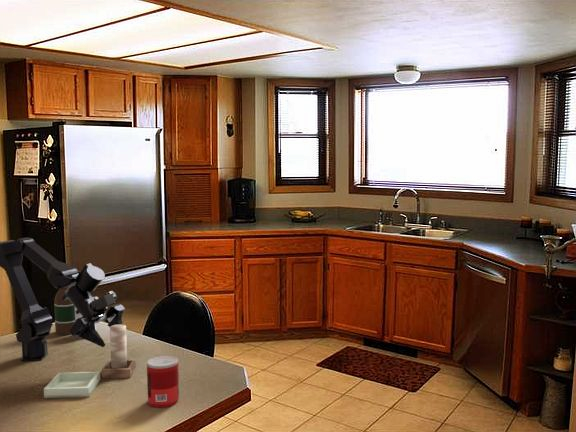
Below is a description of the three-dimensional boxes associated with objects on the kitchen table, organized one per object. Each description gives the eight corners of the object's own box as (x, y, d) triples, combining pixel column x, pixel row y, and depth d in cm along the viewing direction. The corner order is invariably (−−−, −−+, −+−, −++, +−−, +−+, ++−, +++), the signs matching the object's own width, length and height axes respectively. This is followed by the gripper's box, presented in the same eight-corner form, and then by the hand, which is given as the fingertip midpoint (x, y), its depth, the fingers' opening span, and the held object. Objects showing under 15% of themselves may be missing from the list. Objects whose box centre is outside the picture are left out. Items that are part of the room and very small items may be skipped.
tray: (44, 398, 149) (43, 389, 149) (58, 381, 160) (58, 372, 160) (89, 396, 150) (88, 387, 149) (100, 379, 161) (100, 371, 161)
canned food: (184, 401, 147) (184, 360, 146) (158, 411, 141) (157, 368, 140) (167, 392, 152) (166, 353, 151) (142, 402, 147) (140, 361, 145)
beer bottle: (82, 330, 208) (80, 266, 205) (68, 336, 200) (65, 270, 198) (65, 328, 210) (63, 265, 208) (50, 334, 203) (47, 268, 200)
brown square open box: (102, 378, 162) (101, 369, 162) (108, 367, 170) (108, 359, 170) (130, 377, 163) (130, 369, 163) (136, 367, 171) (135, 359, 171)
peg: (109, 375, 164) (108, 329, 163) (113, 370, 169) (112, 324, 167) (125, 375, 164) (124, 328, 163) (128, 369, 169) (127, 324, 168)
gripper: (75, 291, 158) (108, 333, 155) (119, 278, 175) (149, 316, 172) (55, 315, 162) (86, 357, 159) (99, 300, 179) (129, 338, 176)
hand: (114, 341), depth 166 cm, fingers open, 9 cm apart
